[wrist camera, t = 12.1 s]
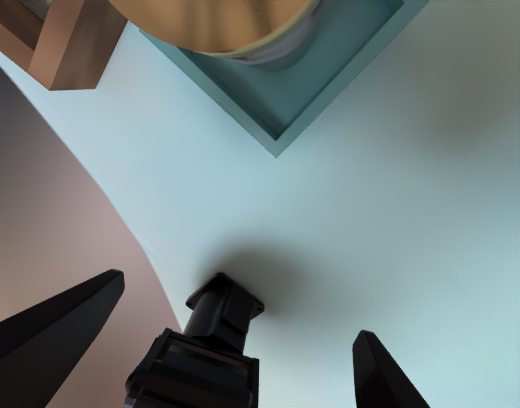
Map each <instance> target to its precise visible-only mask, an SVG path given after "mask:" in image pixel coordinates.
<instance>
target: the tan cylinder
mask: <svg viewBox="0 0 520 408" xmlns="http://www.w3.org/2000/svg"><path fill="white" fill-rule="evenodd" d="M108 1H109V2H110V3H111V4H112V5H113V6H114V7H115V8H116V9H117V10H118V11H119V12H120V13H121V14H122V15H123V16H125V17H126V18H127V19H128V20H130V21H131V22H132V23H133V24H135V25H136V26H137V27H138V28H140V29H142V30H143V31H145V32H146V33H148V34H150V35H151V36H153V37H155V38H157V39H159V40H161V41H164V42H166V43H168V44H171V45H174V46H177V47H181V48H184V49H188V50H191V51H195V52H198V53H202V54H205V55H209V56H213V57H220V58H225V59H229V60H232V61H235V62H238V63H241V64H245V65H248V66H251V67H254V68H258V69H261V70H264V71H270V72H277V71H282V70H285V69H288V68H290V67H291V66H293V65H295V64H296V63H297V62H298V61H299V60H300V59H301V58H302V57H303V56H304V55H305V53H306V52H307V50H308V49H309V47H310V45H311V42H312V40H313V37H314V34H315V31H316V28H317V24H318V21H319V18H320V15H321V12H322V9H323V5H324V2H325V0H108Z"/></svg>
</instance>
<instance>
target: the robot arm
mask: <svg viewBox="0 0 520 408" xmlns="http://www.w3.org/2000/svg"><path fill="white" fill-rule="evenodd" d="M219 277H220V278H219ZM124 288H125V283H124V273H123V272H122V271H120V270H116V269H110V270H108V271H106V272H103V273H101V274H99V275H97V276H95V277H93V278H91V279H89V280H87V281H85V282H83V283H80V284H78V285H76V286H74V287H72V288H70V289H68V290H66V291H64V292H62V293H59V294H58V295H55V296H53V297H51V298H49V299H47V300H45V301H43V302H41V303H39V304H36V305H34V306H32V307H30V308H28V309H26V310H24V311H22V312H20V313H18V314H16V315H13V316H11V317H9V318H7V319H5V320H3V321H1V322H0V408H45V407H46V405H47V404H48V403H49V402H50V400H51V399H52V397H53V396H54V395H55V393H56V392H57V391H58V389H59V388H60V386H61V385H62V384H63V382H64V381H65V379H66V378H67V377H68V375H69V374H70V373H71V371H72V370H73V368H74V367H75V366H76V364H77V363H78V361H79V360H80V359H81V357H82V356H83V355H84V353H85V352H86V351H87V349H88V348H89V346H90V345H91V344H92V342H93V341H94V340H95V338H96V337H97V335H98V334H99V332H100V331H101V329H102V328H103V326H104V324H105V323H106V321H107V319H108V318H109V316H110V314H111V312H112V311H113V309H114V307H115V306H116V304H117V302H118V301H119V299H120V297H121V295H122V294H123V292H124ZM186 306H187V307H189V308H190V309H192V310H193V313H192V315H191V317H190V319H189V321H188V324H187V326H186V328H185V330H184V332H183V334H180V333H177V332H175V331H172V329H169V328H166V329H165V330H164V332H163V334H162V335H159V337H157V338H156V339H155V341H154V342H153V344H152V346H151V348H150V350H149V351H148V353H147V355H146V356H145V358H144V359H143V360H142V361H141V363H140V364H139V365H138V366H137V367H136V368H135V370H134V371H133V372H132V373H131V374H130V376H129V377H128V379H127V381H126V383H125V387H126V392H127V395H126V398H125V403H124V406H123V408H258V395H259V359H257V358H254V357H253V358H250V357H247V356H244V355H243V351H244V346H245V341H246V336H247V333H248V330H249V325H250V320H252V319H253V318H255V317H256V316H258V315H259V314H261V313H262V312H263V311H264V307H265V306H264V304H262V303H261V302H260V301H259V300H257V299H256V298H255V297H253V296H252V295H251V294H249V293H248V292H247V291H245V290H244V289H243V288H241V287H240V286H239V285H237V284H236V283H235V282H233V281H232V280H231V279H230V278H228V277H227V276H226V275H224V274H223V273H217V274H216V275H215V276H213V277H212V278H211V279H210V280H209V281H208V282H207V283H206V284H204V285H203V286H202V287H201V288H200V289H199V290H198V291H196V292H195V293H194V294H193V295H192V296H191V297H190V298H189V299H188V300H187V301H186ZM259 307H260V308H259ZM352 351H353V368H354V386H355V398H356V405H357V408H430V406H429V405H428V404H427V402H426V401H425V400H424V398H423V397H422V396H421V395H420V393H419V392H418V391H417V389H416V388H415V387H414V385H413V384H412V383H411V381H410V380H409V379H408V377H407V376H406V375H405V373H404V372H403V371H402V369H401V368H400V367H399V365H398V364H397V363H396V361H395V360H394V359H393V357H392V356H391V355H390V353H389V352H388V351H387V349H386V348H385V347H384V345H383V344H382V343H381V341H380V340H379V339H378V337H377V336H376V335H375V334H374V333H373V332H370V331H366V330H361V331H360V333H359V334H358V336H357V338H356V340H355V341H354V343H353V349H352Z"/></svg>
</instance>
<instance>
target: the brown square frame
mask: <svg viewBox="0 0 520 408" xmlns="http://www.w3.org/2000/svg"><path fill="white" fill-rule="evenodd" d="M127 20H128V19H127V18H126V17H125V16H123V15H122V14H121V13H120V12H119V11H118V10H117V9H116V8H115V7H114V6H113V5H112V4H111V3H110V2H109V1H108V0H52V1H51V4H50V7H49V10H48V13H47V16H46V19H45V22H43V21H42V20H41V19H40V18H39V17H37V16H36V15H35V14H34V13H33V12H32V11H30V10H29V9H28V8H27V7H26V6H25V5H24V4H22V3H21V2H20V1H19V0H0V51H1V52H2V53H3V54H4V55H6V56H7V57H8V58H9V59H10V60H12V61H13V62H14V63H15V64H17V65H18V66H19V67H20V68H22V69H23V70H24V71H25V72H27V73H28V74H29V75H30V76H32V77H33V78H34V79H35V80H37V81H38V82H39V83H40V84H42V85H43V86H44V87H45V88H47V89H48V90H49V91H56V90H81V89H95V87H96V85H97V83H98V81H99V79H100V77H101V75H102V73H103V71H104V69H105V66H106V64H107V62H108V60H109V58H110V56H111V54H112V52H113V50H114V48H115V46H116V43H117V41H118V39H119V37H120V35H121V33H122V31H123V29H124V27H125V25H126V23H127Z"/></svg>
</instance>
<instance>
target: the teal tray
mask: <svg viewBox="0 0 520 408" xmlns="http://www.w3.org/2000/svg"><path fill="white" fill-rule="evenodd" d="M428 2H429V0H325V2H324V5H323V9H322V12H321V15H320V18H319V21H318V24H317V28H316V31H315V34H314V37H313V40H312V42H311V45H310V47H309V49H308V50H307V52H306V53H305V55H304V56H303V57H302V58H301V59H300V60H299V61H298V62H297V63H296V64H295V65H293V66H291V67H290V68H288V69H285V70H282V71H277V72H270V71H264V70H261V69H258V68H254V67H251V66H248V65H245V64H241V63H238V62H235V61H232V60H229V59H225V58H220V57H213V56H209V55H205V54H202V53H198V52H195V51H191V50H188V49H184V48H181V47H177V46H174V45H171V44H168V43H166V42H164V41H161V40H159V39H157V38H155V37H153V36H151V35H150V34H148V33H146V32H145V31H143V30H142V29H139V31H140V32H141V33H142V34H143V35H144V36H145V37H146V38H148V39H149V40H150V41H151V42H152V43H153V44H154V45H155V46H156V47H157V48H158V49H159V50H160V51H162V52H163V53H164V54H165V55H166V56H167V57H168V58H169V59H170V60H171V61H172V62H173V63H174V64H175V65H177V66H178V67H179V68H180V69H181V70H182V71H183V72H184V73H185V74H186V75H187V76H188V77H189V78H190V79H192V80H193V81H194V82H195V83H196V84H197V85H198V86H199V87H200V88H201V89H202V90H203V91H204V92H206V93H207V94H208V95H209V96H210V97H211V98H212V99H213V100H214V101H215V102H216V103H217V104H218V105H219V106H221V107H222V108H223V109H224V110H225V111H226V112H227V113H228V114H229V115H230V116H231V117H232V118H233V119H235V120H236V121H237V122H238V123H239V124H240V125H241V126H242V127H243V128H244V129H245V130H246V131H247V132H248V133H250V134H251V135H252V136H253V137H254V138H255V139H256V140H257V141H258V142H259V143H260V144H261V145H262V146H264V147H265V148H266V149H267V150H268V151H269V152H270V153H271V154H272V155H273V156H274V157H275V158H277V157H278V156H279V155H280V154H281V153H282V152H283V151H284V150H285V149H286V148H287V147H288V146H289V145H290V144H291V143H292V142H293V141H294V140H295V139H296V138H297V137H298V136H299V135H300V134H301V133H302V132H303V131H304V130H305V129H306V127H307V126H308V125H309V124H310V123H311V122H312V121H313V120H314V119H315V118H316V117H317V116H318V115H319V114H320V113H321V112H322V111H323V110H324V109H325V108H326V107H327V106H328V105H329V104H330V103H331V102H332V101H333V100H334V99H335V98H336V97H337V96H338V95H339V93H340V92H341V91H342V90H343V89H344V88H345V87H346V86H347V85H348V84H349V83H350V82H351V81H352V80H353V79H354V78H355V77H356V76H357V75H358V74H359V73H360V72H361V71H362V70H363V69H364V68H365V67H366V66H367V65H368V64H369V63H370V62H371V61H372V59H373V58H374V57H375V56H376V55H377V54H378V53H379V52H380V51H381V50H382V49H383V48H384V47H385V46H386V45H387V44H388V43H389V42H390V41H391V40H392V39H393V38H394V37H395V36H396V35H397V34H398V33H399V32H400V31H401V30H402V29H403V28H404V27H405V25H406V24H407V23H408V22H409V21H410V20H411V19H412V18H413V17H414V16H415V15H416V14H417V13H418V12H419V11H420V10H421V9H422V8H423V7H424V6H425V5H426V4H427V3H428Z"/></svg>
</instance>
